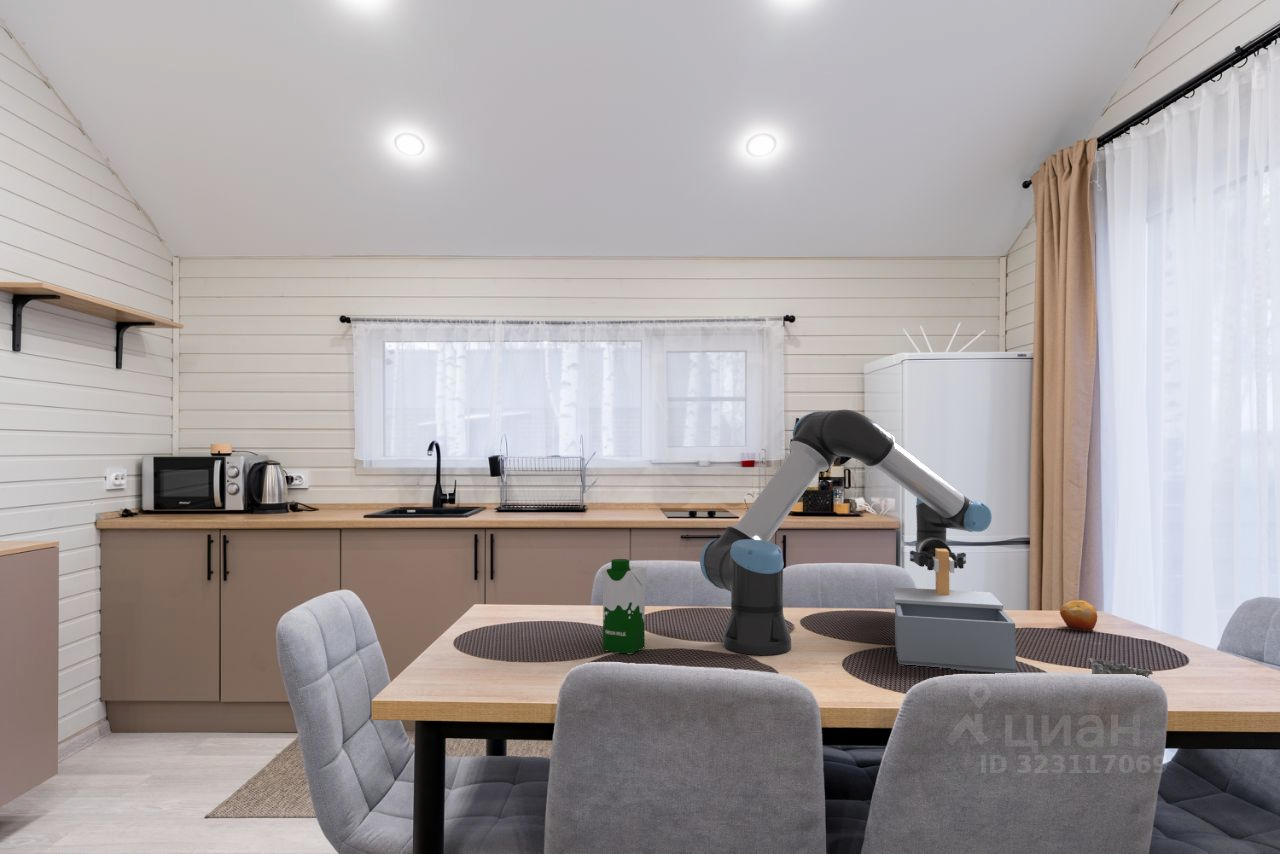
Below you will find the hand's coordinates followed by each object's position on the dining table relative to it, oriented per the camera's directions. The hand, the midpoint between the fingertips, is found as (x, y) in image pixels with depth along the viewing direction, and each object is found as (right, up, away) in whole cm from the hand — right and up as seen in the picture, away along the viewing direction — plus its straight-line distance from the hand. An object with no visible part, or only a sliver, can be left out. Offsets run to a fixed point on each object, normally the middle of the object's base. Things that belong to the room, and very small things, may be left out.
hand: (944, 566), depth 169 cm
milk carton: (-73, -18, -4) cm, 75 cm away
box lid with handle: (0, -7, +1) cm, 7 cm away
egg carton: (+22, -18, -28) cm, 40 cm away
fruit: (+41, -19, +17) cm, 48 cm away
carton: (-3, -18, -12) cm, 21 cm away
